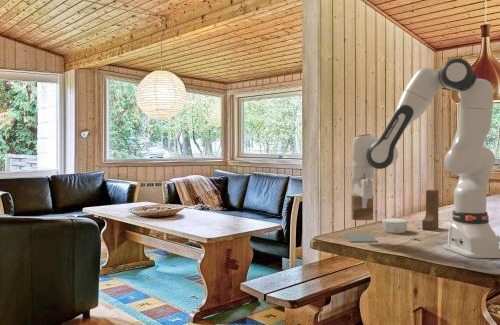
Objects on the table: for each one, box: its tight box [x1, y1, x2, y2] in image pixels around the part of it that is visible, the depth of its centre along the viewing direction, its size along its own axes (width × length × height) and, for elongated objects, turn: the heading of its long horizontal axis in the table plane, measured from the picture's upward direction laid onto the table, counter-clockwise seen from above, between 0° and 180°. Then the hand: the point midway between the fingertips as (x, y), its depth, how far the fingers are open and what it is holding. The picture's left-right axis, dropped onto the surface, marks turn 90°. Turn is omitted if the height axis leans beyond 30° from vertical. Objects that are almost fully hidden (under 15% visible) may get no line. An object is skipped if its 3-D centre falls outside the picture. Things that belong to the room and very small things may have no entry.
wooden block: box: [421, 189, 440, 231], centre depth 210 cm, size 9×4×18 cm, turn 139°
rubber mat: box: [343, 232, 379, 243], centre depth 192 cm, size 16×11×1 cm
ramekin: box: [381, 217, 409, 234], centre depth 206 cm, size 11×11×5 cm
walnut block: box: [350, 194, 374, 221], centre depth 187 cm, size 4×8×10 cm, turn 89°
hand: (362, 207), depth 187 cm, fingers closed on walnut block, 4 cm apart
